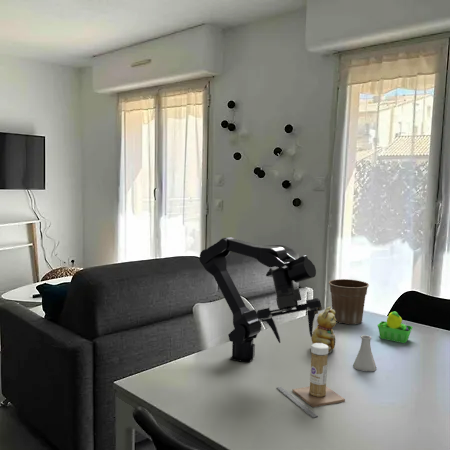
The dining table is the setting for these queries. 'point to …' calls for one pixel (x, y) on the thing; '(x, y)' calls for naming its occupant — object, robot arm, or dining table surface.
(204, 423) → the dining table surface
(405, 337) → the fruit basket
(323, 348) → the sprinkles bottle
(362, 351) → the flask
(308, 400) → the board
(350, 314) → the plant pot
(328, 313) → the decorative figurine
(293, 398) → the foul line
